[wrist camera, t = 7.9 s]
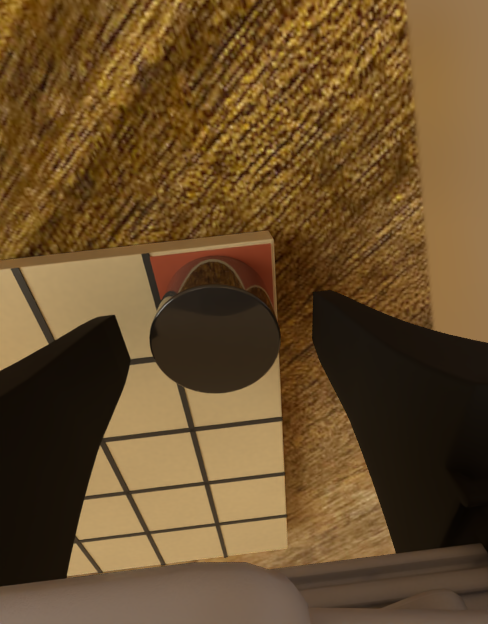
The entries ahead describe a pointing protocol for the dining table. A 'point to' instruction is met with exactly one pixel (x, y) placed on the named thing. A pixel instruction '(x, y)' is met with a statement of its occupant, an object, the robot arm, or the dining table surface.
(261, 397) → the board
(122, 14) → the dining table surface
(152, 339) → the dark grey cylinder
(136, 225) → the dining table surface
